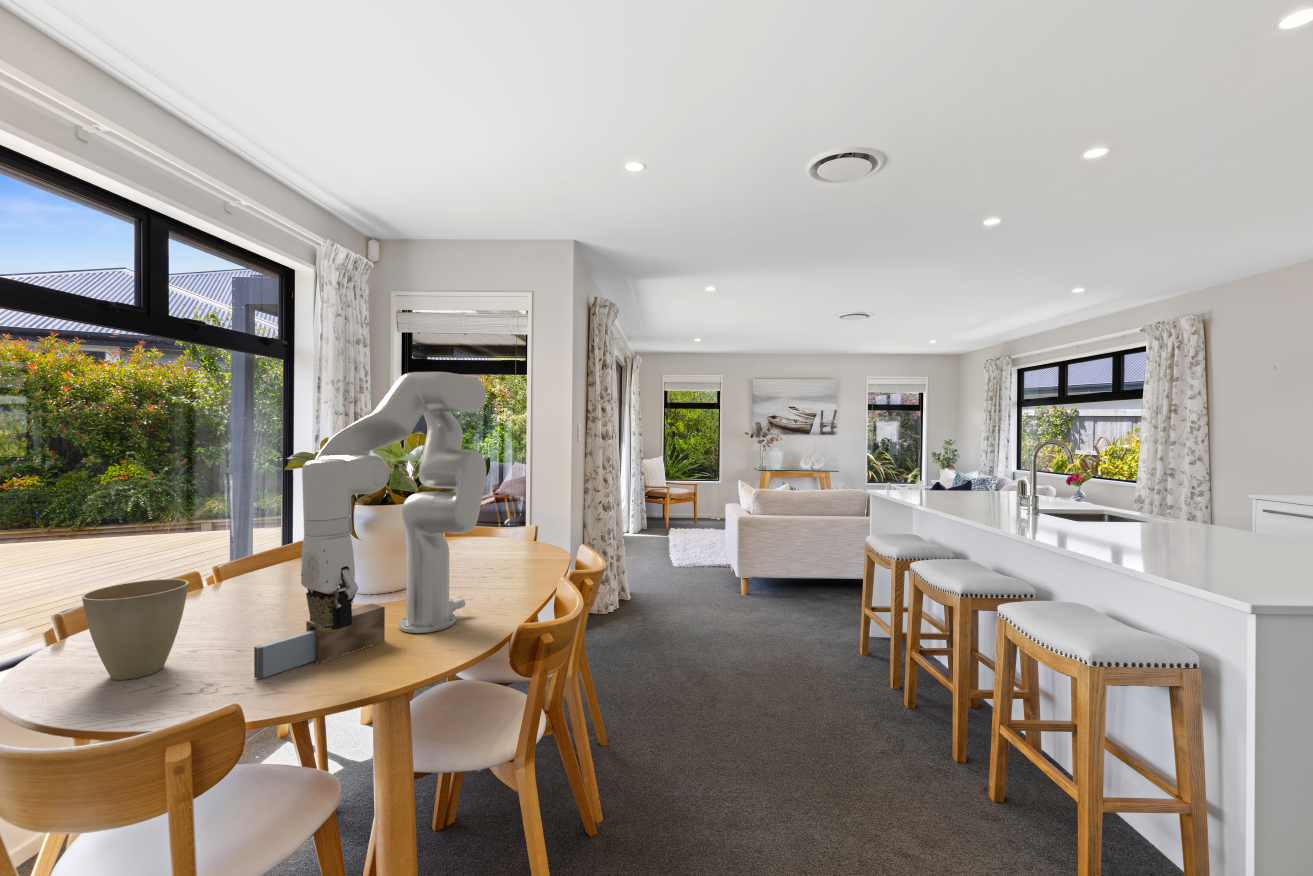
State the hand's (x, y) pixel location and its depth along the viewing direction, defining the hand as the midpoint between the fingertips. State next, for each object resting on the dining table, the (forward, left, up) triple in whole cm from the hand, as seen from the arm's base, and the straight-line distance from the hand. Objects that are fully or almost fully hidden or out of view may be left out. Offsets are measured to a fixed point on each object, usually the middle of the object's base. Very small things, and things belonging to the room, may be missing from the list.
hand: (330, 622), depth 103 cm
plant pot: (+17, -35, -11) cm, 41 cm away
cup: (0, 0, -2) cm, 2 cm away
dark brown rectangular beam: (-10, -12, -11) cm, 19 cm away
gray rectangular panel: (0, -12, -11) cm, 16 cm away
